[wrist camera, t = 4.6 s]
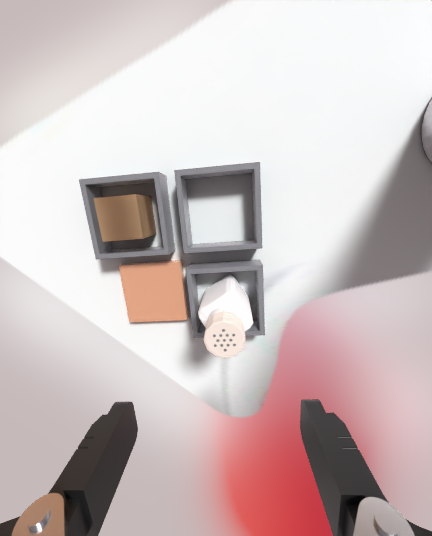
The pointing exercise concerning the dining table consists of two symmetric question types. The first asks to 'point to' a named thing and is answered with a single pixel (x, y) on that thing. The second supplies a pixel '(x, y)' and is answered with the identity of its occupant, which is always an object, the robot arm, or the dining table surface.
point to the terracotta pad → (154, 291)
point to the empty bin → (184, 209)
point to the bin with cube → (93, 185)
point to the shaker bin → (231, 266)
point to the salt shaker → (225, 317)
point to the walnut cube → (125, 217)
